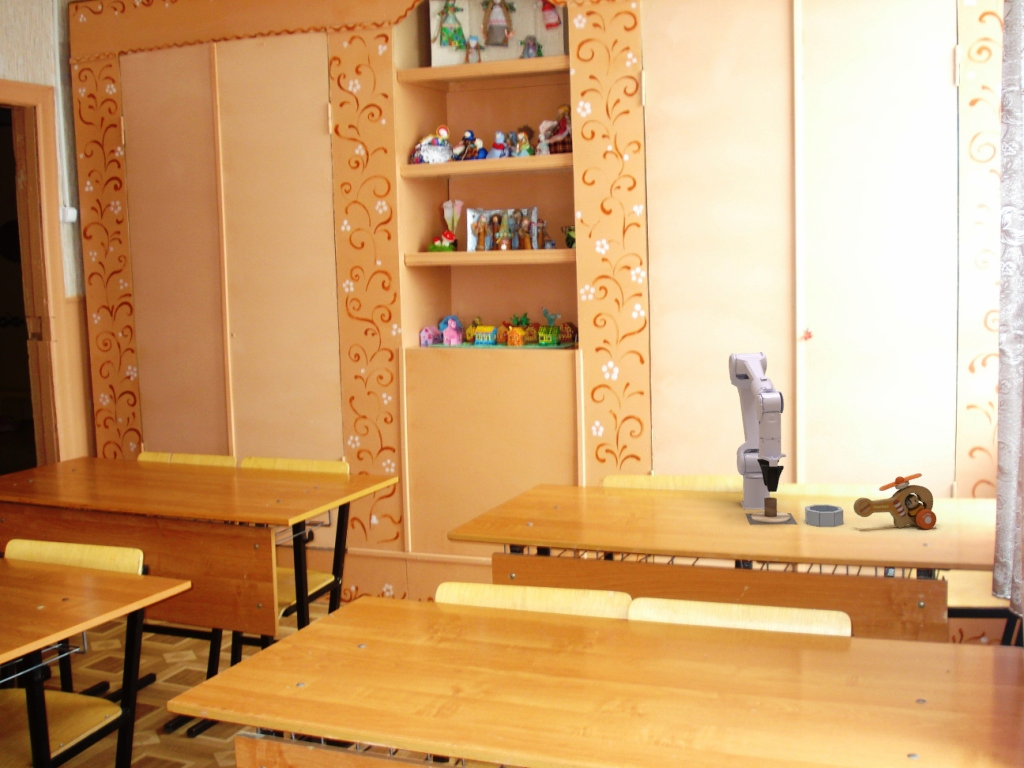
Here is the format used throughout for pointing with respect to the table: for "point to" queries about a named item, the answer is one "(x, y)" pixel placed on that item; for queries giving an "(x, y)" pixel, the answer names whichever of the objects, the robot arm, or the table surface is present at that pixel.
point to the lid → (770, 513)
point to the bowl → (824, 515)
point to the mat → (752, 522)
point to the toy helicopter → (902, 504)
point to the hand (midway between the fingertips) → (770, 488)
